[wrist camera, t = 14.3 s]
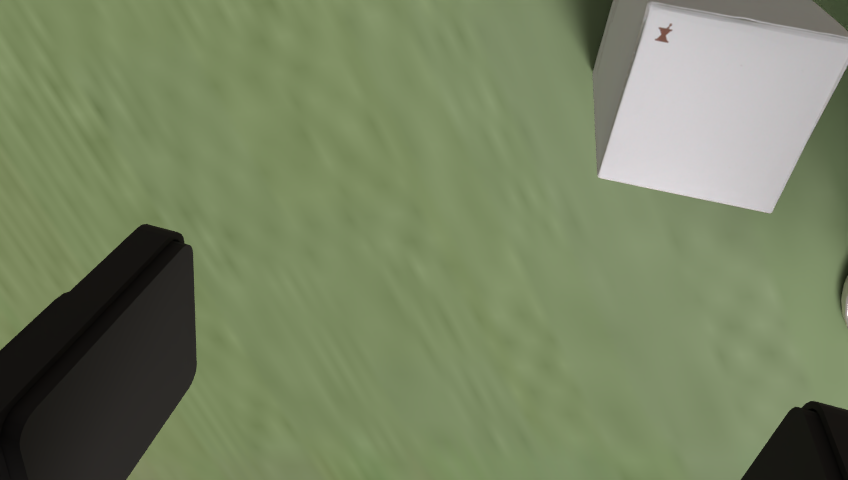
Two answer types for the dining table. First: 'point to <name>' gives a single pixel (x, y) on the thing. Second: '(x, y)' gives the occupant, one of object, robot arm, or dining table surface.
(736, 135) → the supplement box
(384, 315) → the dining table surface
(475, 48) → the dining table surface
